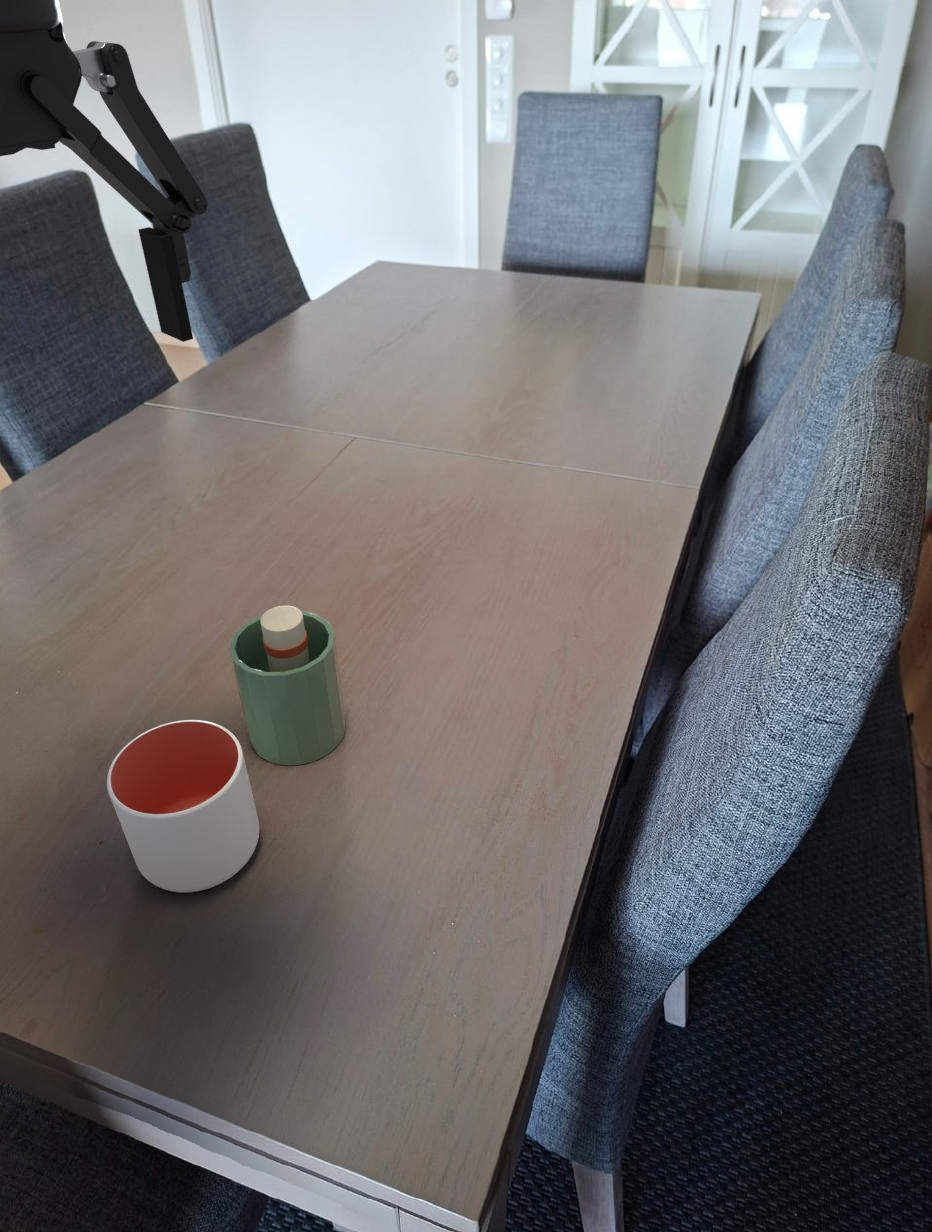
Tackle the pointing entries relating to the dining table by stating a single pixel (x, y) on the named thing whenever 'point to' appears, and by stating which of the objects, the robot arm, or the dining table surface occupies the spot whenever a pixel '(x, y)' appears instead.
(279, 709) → the tumbler
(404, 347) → the dining table surface
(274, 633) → the cream banded cylinder
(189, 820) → the cup
